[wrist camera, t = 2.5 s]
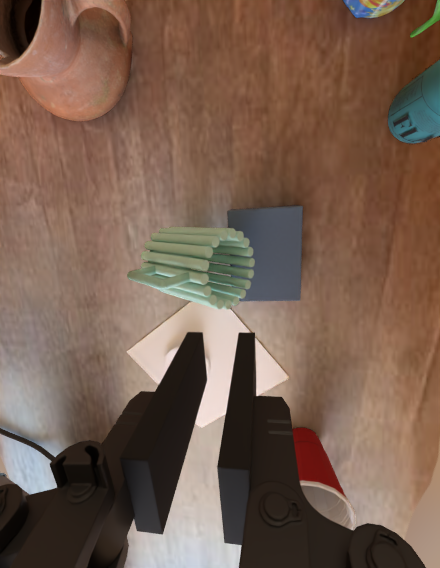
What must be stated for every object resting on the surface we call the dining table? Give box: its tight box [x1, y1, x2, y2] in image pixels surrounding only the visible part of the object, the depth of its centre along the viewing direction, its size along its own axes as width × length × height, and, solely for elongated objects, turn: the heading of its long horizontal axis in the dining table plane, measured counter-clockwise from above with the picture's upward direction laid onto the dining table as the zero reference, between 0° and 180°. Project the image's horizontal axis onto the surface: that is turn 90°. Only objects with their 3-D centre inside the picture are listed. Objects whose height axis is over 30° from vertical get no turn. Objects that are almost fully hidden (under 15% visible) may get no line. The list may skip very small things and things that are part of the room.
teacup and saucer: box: [163, 345, 211, 375], centre depth 43 cm, size 9×8×4 cm
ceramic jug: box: [0, 0, 133, 121], centre depth 26 cm, size 18×14×14 cm
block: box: [227, 205, 303, 301], centre depth 35 cm, size 9×12×4 cm
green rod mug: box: [127, 227, 255, 310], centre depth 31 cm, size 14×9×15 cm, turn 94°
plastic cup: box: [292, 428, 356, 530], centre depth 41 cm, size 11×11×12 cm
